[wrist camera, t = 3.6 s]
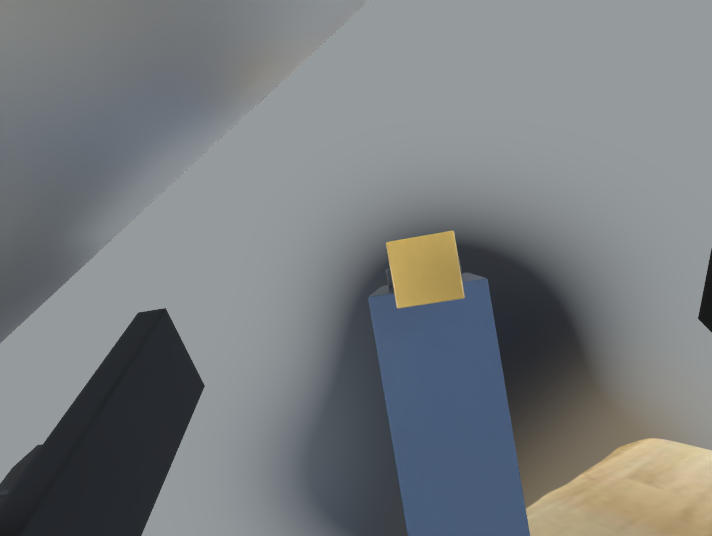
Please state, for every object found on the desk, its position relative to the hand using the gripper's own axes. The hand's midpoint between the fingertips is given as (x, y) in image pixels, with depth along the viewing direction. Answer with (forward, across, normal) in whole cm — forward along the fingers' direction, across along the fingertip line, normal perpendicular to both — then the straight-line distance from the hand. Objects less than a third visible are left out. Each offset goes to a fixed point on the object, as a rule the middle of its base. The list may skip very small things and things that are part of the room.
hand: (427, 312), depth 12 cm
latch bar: (+19, 0, +12) cm, 22 cm away
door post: (+7, 0, +40) cm, 40 cm away
